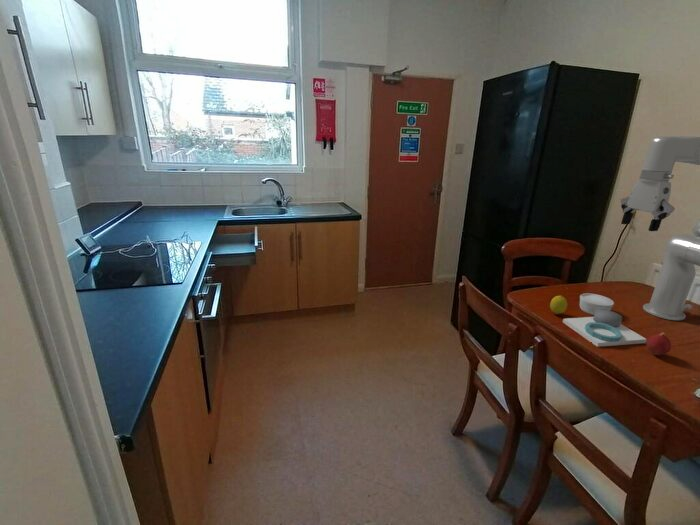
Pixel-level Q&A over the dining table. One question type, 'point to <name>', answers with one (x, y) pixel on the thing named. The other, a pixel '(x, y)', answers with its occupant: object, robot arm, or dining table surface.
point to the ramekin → (594, 303)
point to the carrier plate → (604, 329)
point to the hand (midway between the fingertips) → (638, 227)
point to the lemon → (558, 304)
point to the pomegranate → (658, 344)
